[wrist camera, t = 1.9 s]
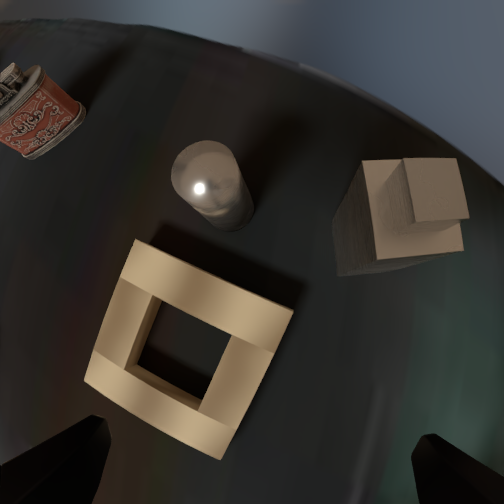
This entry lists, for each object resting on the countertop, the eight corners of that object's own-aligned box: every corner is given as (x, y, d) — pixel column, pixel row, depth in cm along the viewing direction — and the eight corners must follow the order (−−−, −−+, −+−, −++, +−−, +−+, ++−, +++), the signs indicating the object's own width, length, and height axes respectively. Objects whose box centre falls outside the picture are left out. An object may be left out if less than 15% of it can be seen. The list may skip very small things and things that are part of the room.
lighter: (83, 98, 25) (24, 41, 15) (88, 122, 24) (21, 64, 15) (26, 142, 26) (-39, 102, 16) (27, 167, 25) (-43, 129, 15)
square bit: (389, 271, 20) (491, 241, 8) (337, 276, 20) (394, 251, 8) (382, 218, 20) (467, 137, 8) (331, 221, 21) (373, 135, 9)
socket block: (293, 310, 20) (293, 311, 18) (226, 447, 19) (220, 460, 17) (148, 243, 22) (135, 239, 20) (98, 375, 21) (83, 380, 19)
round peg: (261, 196, 21) (247, 151, 15) (242, 239, 21) (218, 212, 14) (219, 179, 22) (189, 133, 15) (200, 221, 22) (160, 189, 15)
